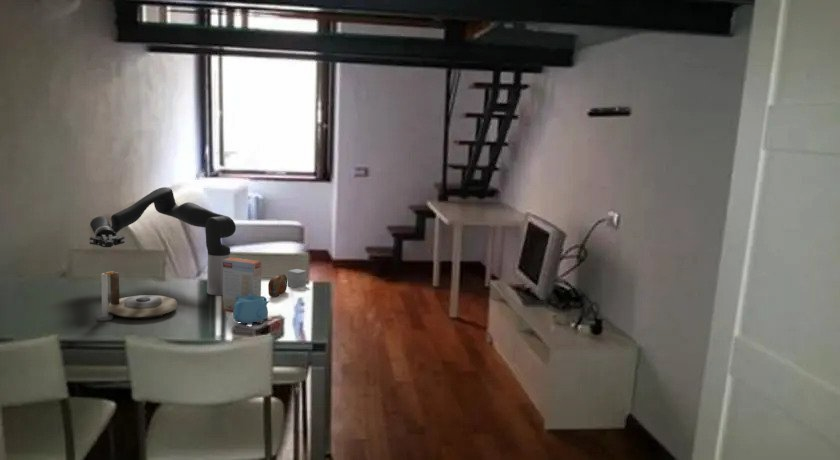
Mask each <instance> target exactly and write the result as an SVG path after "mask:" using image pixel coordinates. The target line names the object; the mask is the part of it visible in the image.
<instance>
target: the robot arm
mask: <svg viewBox="0 0 840 460" xmlns="http://www.w3.org/2000/svg"><path fill="white" fill-rule="evenodd" d="M152 204H154V205H153V206H154V209H155V210H156V212H157V213H159V214H162V215H165V216H169V217H172V218H174V219H177V220H180V221H182V222H184V223H185V224H187V225H190V226H194V227H197V228H198V227H199V228H205V229H204V230H205V244H206V250H207V274H206V276H207V277H206V279H207V287H206V291H207V292H206V294H208V295H211V296H223V260H224V259H227V258H230V257H231V247H230V246H228V245H225V244H222V239H224V238H229V237H232V236H233V235H234V234H235V232H236V228H237V227H236V223H235V221H234V220H233V219H232V218H231V217H230V216H228V215H223V214H220V213H216V212H213V211H212V210H209V209H207V208H205V207H203V206H200V205H198V204H196V203H194V202H189V201H188V202H184V203H181V204H180V205H178V204H177V203H176V200H175V196H174V192H173V190H172V188H171V187H166V186H163V187H160V188H159V187H158V188H156V189H155V190H152V191H151V192H150V193H148V194H147V195H144V197H142V198H140V199H139V200H138V201H136V202H135V203H134V204H132V205H130V206H128V207H127V208H124V209H121V210H119V211H118V212H116V213H113V214H112V215H111V217H110V222H111V224H110V222H109V220H108V218H106V217H105V216H96V217H94V218H93V219H91V220H90V223H89V225H90V229H91V230H92V232H93V234H94V237H93V236H90V237H89V244H90V245H94V246H100V247H102V248H112V247H114V246H119V245H122V244H125V236H124V235H123V236H117V233H118V232H120V231H122V230H123V229H125V227H129V226H130V225H133V224H134V223H136V222H137V221H138V220H139V219H140V218H141V217H142V215H143V214H144V213H145V211H146V210H147V209H148V208H149V207H150V206H151V205H152Z"/></svg>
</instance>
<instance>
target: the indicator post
mask: <svg viewBox="0 0 840 460" xmlns="http://www.w3.org/2000/svg"><path fill="white" fill-rule="evenodd" d="M114 272H115V271H113V270H112V271H106V272H103V273H101V274H100V276H101V277H100V280H101V281H100V283H101V285H100V286H101V314H100V315H98V316H97V319H96V320H97V321H99V322H110V321H112V320H114V318H113V317H114V316H113V314H112V315H111V314H109V310H108V305H109V296H108V295H109V294H108V293H109V292H108V289H109V288H108V287H109V286H108V285H109V284H108V280H109V279H108V275H109V276H110V274H114Z"/></svg>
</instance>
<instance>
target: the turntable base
mask: <svg viewBox="0 0 840 460" xmlns="http://www.w3.org/2000/svg"><path fill="white" fill-rule="evenodd" d="M161 315H162V316H165V315H167V314H166V313H165V315H164V314H161ZM161 315H156V316H149V317H125V316H119V317H121V318H122V319H123V318H124V319H131V320H146V319H148V320H149V319H153V318H159V317H162V316H161Z"/></svg>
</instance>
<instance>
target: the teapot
mask: <svg viewBox="0 0 840 460" xmlns="http://www.w3.org/2000/svg"><path fill="white" fill-rule="evenodd" d="M269 303H270V301H268V299H267V297H266V296H263V295H262V296H261V297H259V296H254V294H248V296H244V297H242V296H240V295H237V296H236V303H235V305H234V310H233V312H232V317H233V320H235V321H236V322H241V323H240V324H245V323H252V322H256V321H260V320H263V319H265V320H266V319H267V317H268V316H269V310H268V307H267V305H268V304H269ZM263 321H264V320H263ZM252 324H253V323H252Z"/></svg>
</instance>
